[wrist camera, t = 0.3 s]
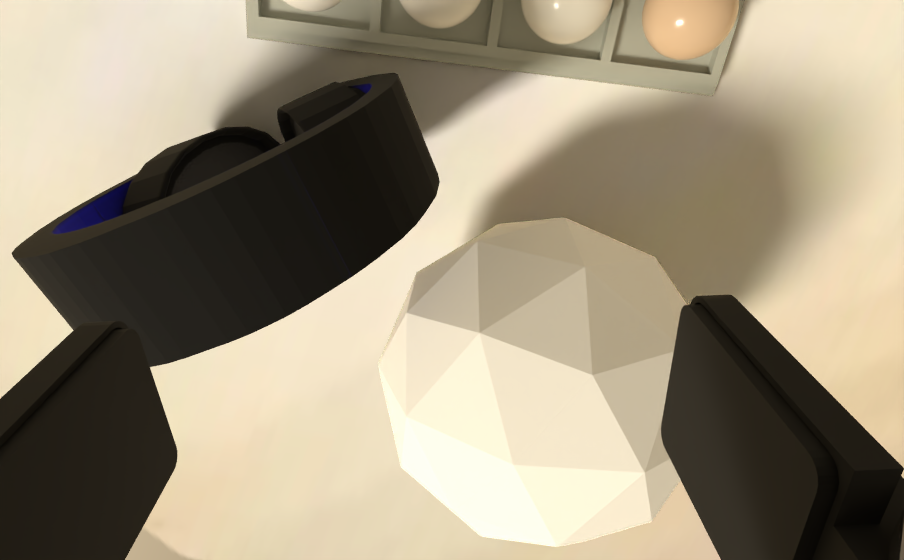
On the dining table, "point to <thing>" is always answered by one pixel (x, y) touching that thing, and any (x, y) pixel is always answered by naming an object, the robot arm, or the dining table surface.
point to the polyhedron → (537, 382)
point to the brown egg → (687, 25)
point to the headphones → (241, 222)
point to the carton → (494, 42)
